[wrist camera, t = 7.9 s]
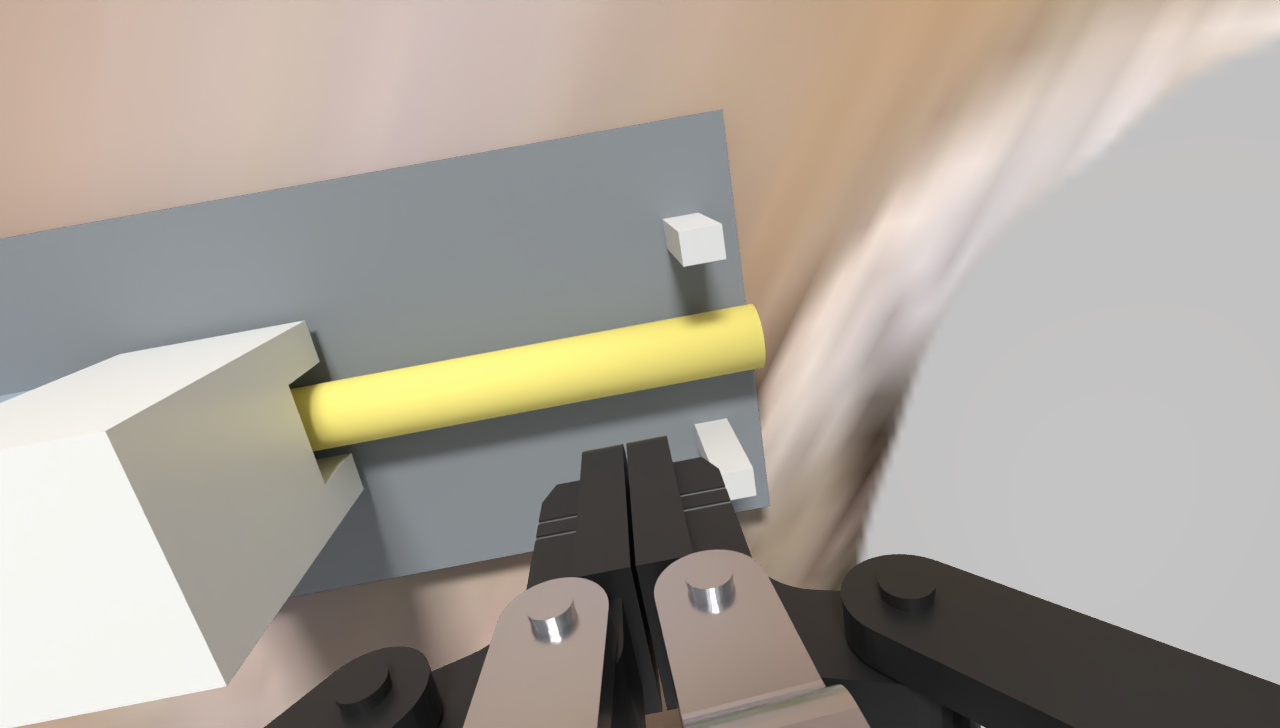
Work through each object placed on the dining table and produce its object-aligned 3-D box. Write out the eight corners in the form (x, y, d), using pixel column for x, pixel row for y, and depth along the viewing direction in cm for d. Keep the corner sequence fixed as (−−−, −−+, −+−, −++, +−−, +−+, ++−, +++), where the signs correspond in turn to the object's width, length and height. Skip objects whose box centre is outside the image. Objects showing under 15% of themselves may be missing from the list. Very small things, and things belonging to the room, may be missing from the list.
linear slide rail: (713, 112, 18) (761, 94, 13) (760, 487, 21) (811, 584, 17) (-75, 254, 17) (-339, 290, 12) (112, 611, 21) (-34, 748, 16)
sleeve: (305, 320, 17) (104, 430, 10) (363, 489, 19) (227, 685, 12) (119, 354, 17) (-214, 489, 10) (195, 520, 19) (-46, 738, 12)
